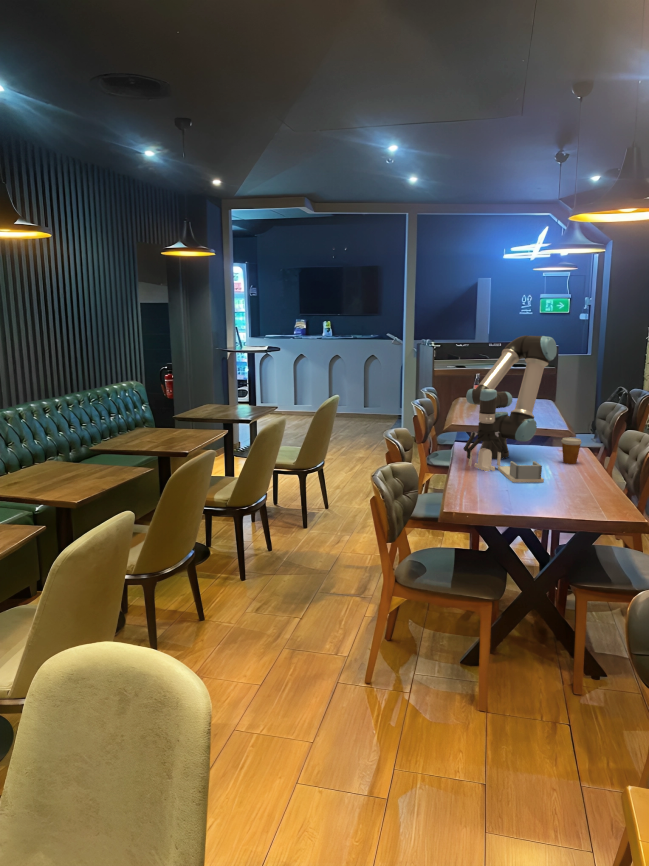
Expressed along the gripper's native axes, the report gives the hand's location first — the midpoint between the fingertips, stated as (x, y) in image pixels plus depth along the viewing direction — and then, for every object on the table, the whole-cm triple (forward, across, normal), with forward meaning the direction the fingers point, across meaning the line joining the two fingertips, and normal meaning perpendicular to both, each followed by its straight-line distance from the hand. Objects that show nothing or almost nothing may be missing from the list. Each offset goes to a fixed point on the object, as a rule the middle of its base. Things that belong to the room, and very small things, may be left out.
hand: (484, 465), depth 299 cm
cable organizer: (+2, 0, 0) cm, 2 cm away
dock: (+2, +13, -12) cm, 18 cm away
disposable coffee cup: (+2, +46, +12) cm, 48 cm away
